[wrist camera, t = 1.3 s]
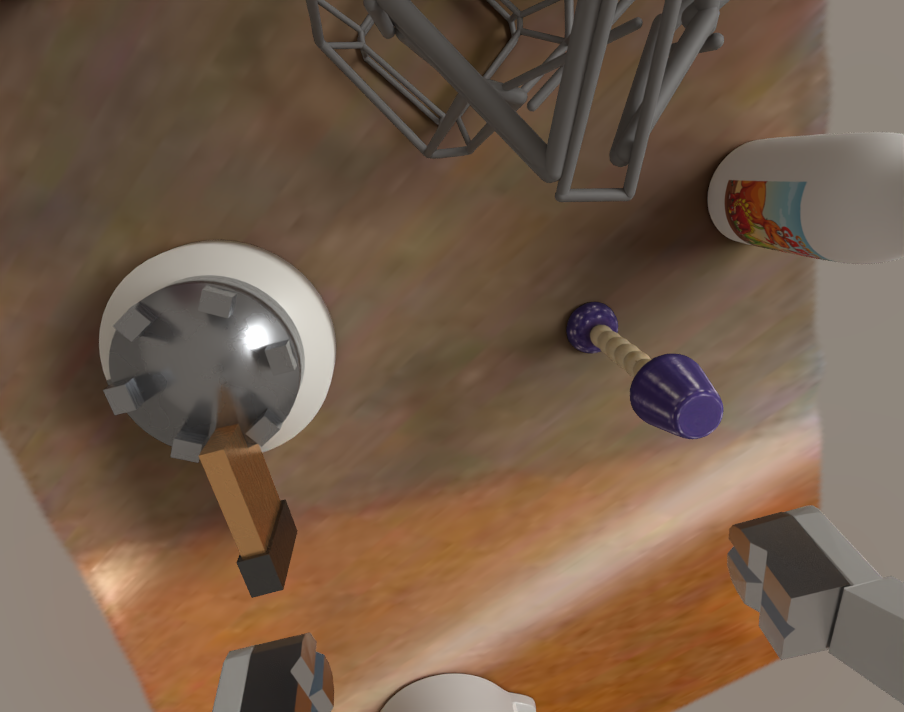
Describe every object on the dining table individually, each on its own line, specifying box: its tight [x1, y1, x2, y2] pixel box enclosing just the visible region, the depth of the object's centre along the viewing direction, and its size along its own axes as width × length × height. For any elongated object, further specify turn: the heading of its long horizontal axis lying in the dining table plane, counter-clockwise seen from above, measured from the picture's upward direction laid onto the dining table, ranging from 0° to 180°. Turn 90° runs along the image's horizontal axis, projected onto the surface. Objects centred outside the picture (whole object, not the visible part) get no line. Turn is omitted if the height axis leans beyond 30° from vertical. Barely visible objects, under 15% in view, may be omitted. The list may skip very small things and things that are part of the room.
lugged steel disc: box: [103, 275, 305, 598], centre depth 39 cm, size 21×12×7 cm, turn 13°
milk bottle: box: [707, 132, 904, 264], centre depth 35 cm, size 8×8×20 cm
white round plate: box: [99, 240, 336, 452], centre depth 42 cm, size 16×16×3 cm
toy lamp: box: [566, 302, 723, 439], centre depth 39 cm, size 5×5×17 cm
